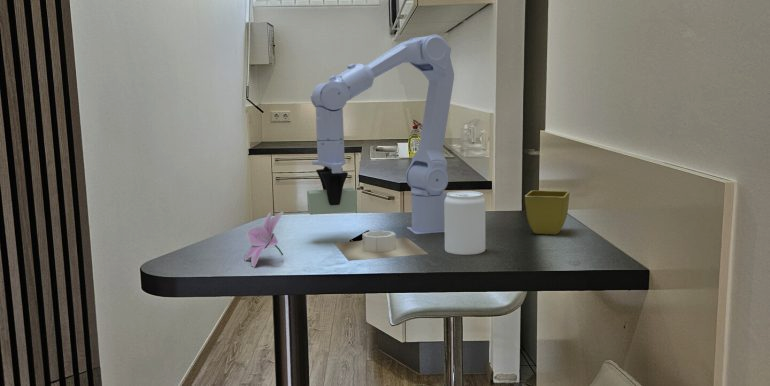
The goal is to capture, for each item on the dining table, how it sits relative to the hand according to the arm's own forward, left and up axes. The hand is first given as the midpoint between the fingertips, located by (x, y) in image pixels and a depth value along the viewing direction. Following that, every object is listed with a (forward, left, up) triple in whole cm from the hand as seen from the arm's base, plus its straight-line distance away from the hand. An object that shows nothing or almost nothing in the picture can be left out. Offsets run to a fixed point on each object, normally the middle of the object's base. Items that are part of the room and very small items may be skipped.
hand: (332, 203), depth 151 cm
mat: (-8, +10, -9) cm, 16 cm away
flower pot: (-48, +5, -9) cm, 49 cm away
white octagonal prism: (-8, +10, -8) cm, 15 cm away
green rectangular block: (0, 0, -2) cm, 2 cm away
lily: (+16, +11, -9) cm, 21 cm away
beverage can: (-24, +17, -9) cm, 31 cm away
